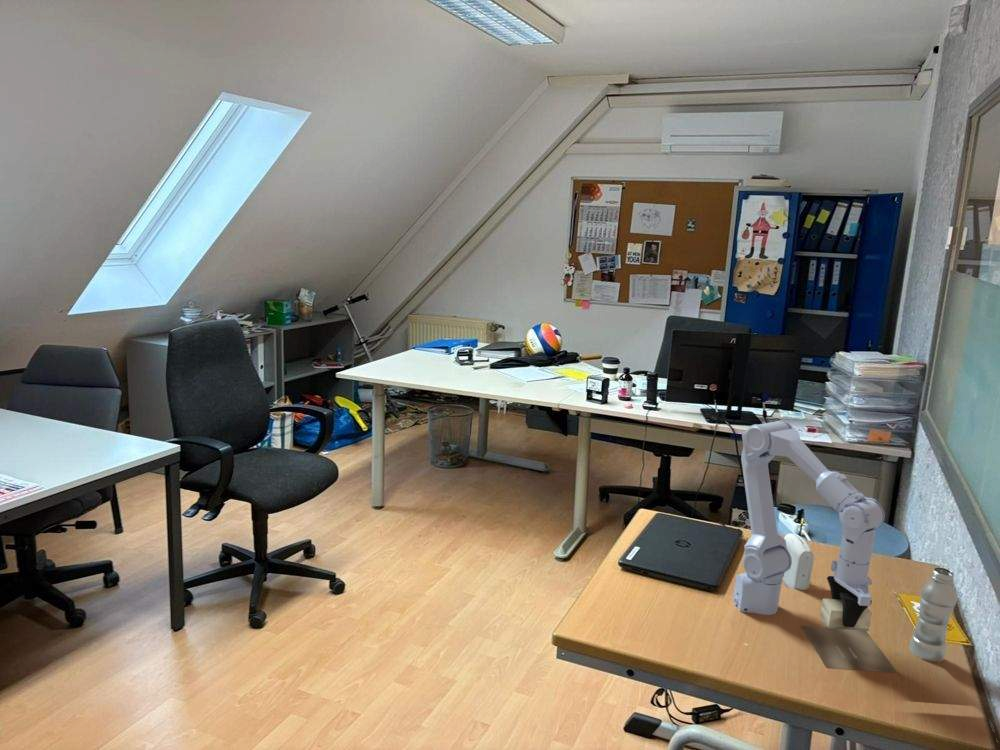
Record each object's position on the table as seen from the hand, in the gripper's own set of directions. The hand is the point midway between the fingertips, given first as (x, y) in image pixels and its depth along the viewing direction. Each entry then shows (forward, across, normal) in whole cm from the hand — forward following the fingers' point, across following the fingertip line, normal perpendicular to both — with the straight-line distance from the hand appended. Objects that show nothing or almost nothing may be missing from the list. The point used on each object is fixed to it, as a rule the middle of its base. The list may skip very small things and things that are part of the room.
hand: (843, 619), depth 152 cm
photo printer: (+9, +30, -1) cm, 31 cm away
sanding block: (+1, 0, 0) cm, 1 cm away
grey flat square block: (+9, +2, -2) cm, 9 cm away
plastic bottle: (+9, +2, -19) cm, 21 cm away
